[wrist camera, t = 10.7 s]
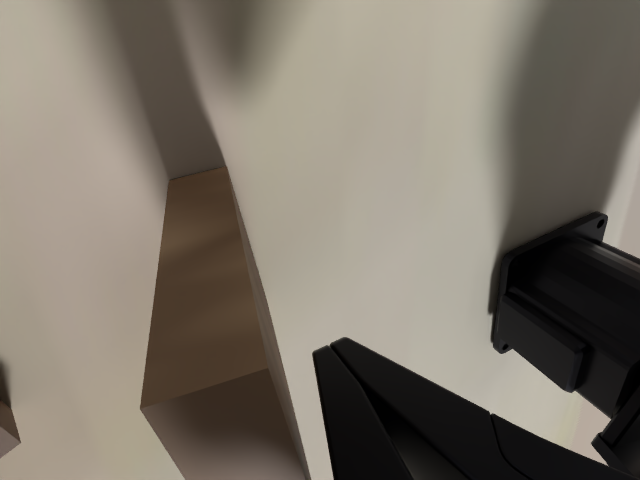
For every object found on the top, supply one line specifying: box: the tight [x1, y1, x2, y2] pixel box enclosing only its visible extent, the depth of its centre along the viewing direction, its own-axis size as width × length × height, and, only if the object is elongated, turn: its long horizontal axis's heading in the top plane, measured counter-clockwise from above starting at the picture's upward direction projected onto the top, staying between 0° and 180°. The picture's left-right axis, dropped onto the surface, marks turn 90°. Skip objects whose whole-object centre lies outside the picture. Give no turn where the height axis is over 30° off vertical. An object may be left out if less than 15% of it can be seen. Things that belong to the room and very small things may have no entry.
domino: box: [140, 166, 311, 480], centre depth 10 cm, size 2×5×8 cm, turn 10°
